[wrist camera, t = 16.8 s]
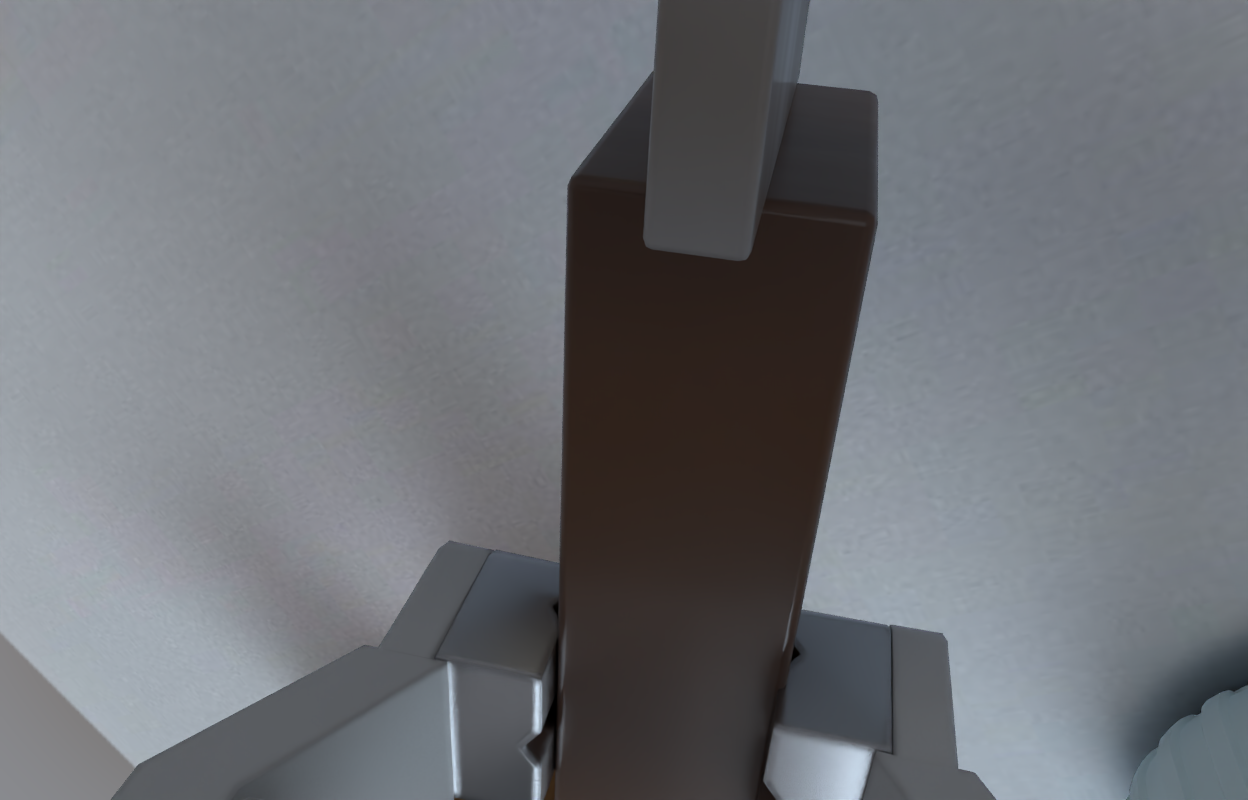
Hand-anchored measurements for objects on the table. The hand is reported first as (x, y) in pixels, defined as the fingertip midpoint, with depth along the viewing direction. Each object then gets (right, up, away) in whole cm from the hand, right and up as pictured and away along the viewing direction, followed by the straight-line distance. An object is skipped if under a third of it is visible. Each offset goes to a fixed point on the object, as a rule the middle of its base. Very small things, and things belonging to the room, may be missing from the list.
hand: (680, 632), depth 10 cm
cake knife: (+1, +6, -2) cm, 6 cm away
